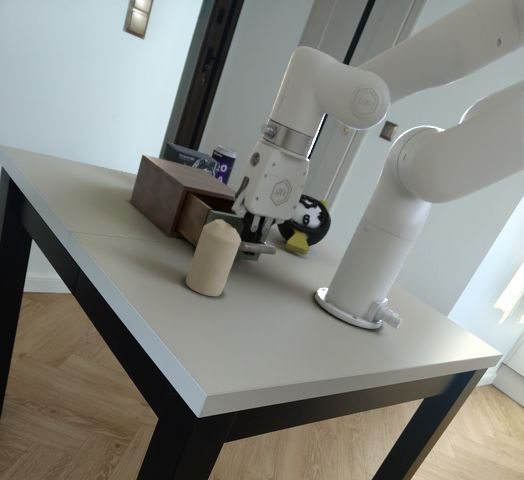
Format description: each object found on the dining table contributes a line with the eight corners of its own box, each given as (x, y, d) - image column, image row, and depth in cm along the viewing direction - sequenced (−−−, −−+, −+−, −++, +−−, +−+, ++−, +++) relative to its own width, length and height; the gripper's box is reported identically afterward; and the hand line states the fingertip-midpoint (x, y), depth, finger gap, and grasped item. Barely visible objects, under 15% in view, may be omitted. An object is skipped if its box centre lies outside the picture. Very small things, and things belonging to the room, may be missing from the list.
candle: (228, 296, 75) (252, 233, 70) (201, 297, 70) (225, 230, 66) (205, 278, 77) (226, 216, 73) (177, 278, 73) (198, 213, 69)
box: (163, 199, 108) (177, 150, 103) (152, 188, 112) (165, 140, 108) (206, 208, 114) (221, 163, 110) (193, 198, 119) (207, 153, 114)
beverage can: (197, 190, 127) (212, 141, 122) (217, 195, 130) (232, 149, 125) (204, 197, 123) (220, 148, 118) (224, 203, 126) (241, 155, 121)
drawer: (278, 277, 88) (294, 238, 85) (220, 272, 79) (235, 229, 76) (215, 227, 100) (227, 192, 97) (158, 218, 91) (169, 179, 88)
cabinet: (231, 244, 98) (247, 199, 94) (168, 236, 88) (184, 185, 84) (190, 212, 107) (204, 169, 103) (130, 201, 97) (142, 154, 93)
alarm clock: (257, 252, 113) (262, 183, 112) (299, 258, 124) (304, 195, 122) (297, 253, 105) (304, 178, 104) (338, 259, 116) (345, 192, 114)
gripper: (266, 136, 69) (222, 258, 77) (335, 160, 79) (289, 265, 87) (235, 120, 73) (196, 237, 81) (304, 144, 84) (264, 246, 92)
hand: (245, 251), depth 84 cm, fingers closed
